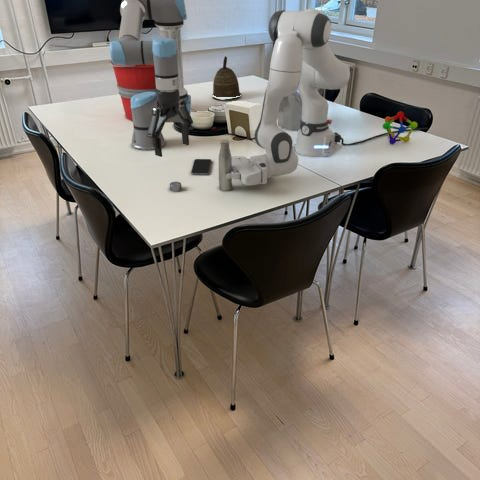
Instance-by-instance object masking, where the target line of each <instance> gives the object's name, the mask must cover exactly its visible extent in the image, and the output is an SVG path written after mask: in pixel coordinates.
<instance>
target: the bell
mask: <svg viewBox="0 0 480 480" xmlns="http://www.w3.org/2000/svg"><path fill="white" fill-rule="evenodd" d="M227 63H228V57H227V56H224V58H223V63H222V67H221V68H219V69H218V70H217V71H216V73H215V75H214V78H213V81H212V83H213V84H212V95H214V96H216V97H236V96H240V95H241V96H242V93H241V92H240V83H239V80H238V79H239V78H238V77H237V75H236V73H235V72H234V70H232V69H231V68H230V67H227Z"/></svg>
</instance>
